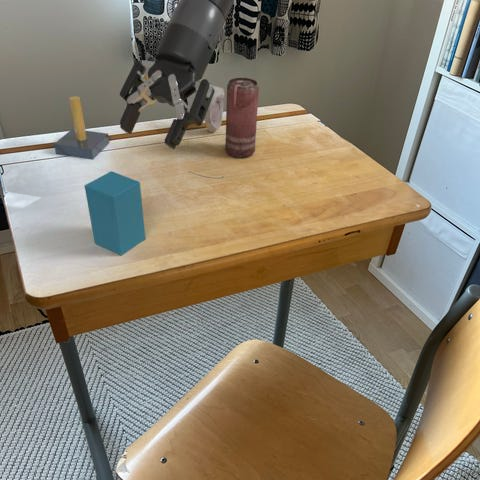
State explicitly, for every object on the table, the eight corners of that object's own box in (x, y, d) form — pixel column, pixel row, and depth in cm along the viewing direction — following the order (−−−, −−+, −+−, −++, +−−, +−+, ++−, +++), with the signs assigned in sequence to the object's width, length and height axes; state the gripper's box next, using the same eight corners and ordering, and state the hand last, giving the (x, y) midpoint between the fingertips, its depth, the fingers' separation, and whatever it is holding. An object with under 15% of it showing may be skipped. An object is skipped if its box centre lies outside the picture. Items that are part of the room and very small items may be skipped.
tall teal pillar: (119, 227, 84) (111, 170, 77) (145, 239, 82) (139, 181, 75) (94, 243, 80) (84, 185, 73) (121, 255, 78) (113, 197, 71)
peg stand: (55, 153, 102) (44, 102, 95) (73, 137, 108) (65, 88, 101) (93, 159, 101) (85, 108, 94) (109, 142, 107) (102, 93, 100)
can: (220, 156, 105) (222, 84, 95) (230, 144, 109) (233, 74, 100) (249, 161, 103) (253, 89, 94) (258, 149, 108) (262, 79, 98)
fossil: (211, 139, 111) (211, 91, 104) (198, 134, 112) (197, 87, 105) (226, 130, 114) (227, 83, 107) (213, 126, 116) (213, 79, 109)
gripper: (140, 12, 75) (96, 114, 76) (220, 30, 70) (172, 139, 71) (165, 44, 82) (124, 137, 83) (240, 63, 77) (195, 162, 78)
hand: (146, 138), depth 77 cm, fingers open, 8 cm apart
